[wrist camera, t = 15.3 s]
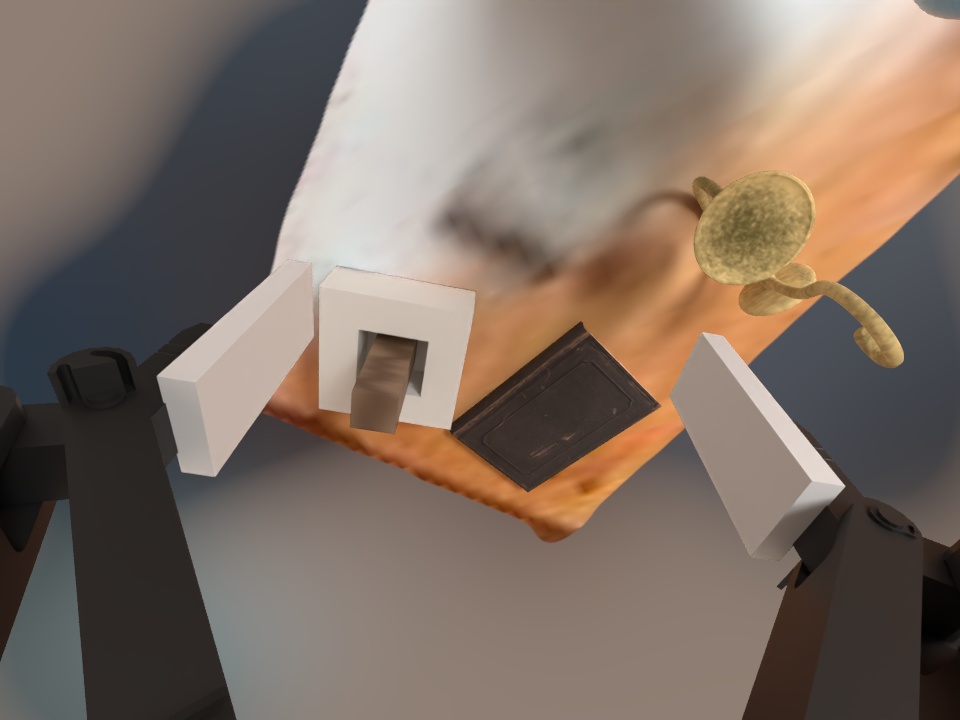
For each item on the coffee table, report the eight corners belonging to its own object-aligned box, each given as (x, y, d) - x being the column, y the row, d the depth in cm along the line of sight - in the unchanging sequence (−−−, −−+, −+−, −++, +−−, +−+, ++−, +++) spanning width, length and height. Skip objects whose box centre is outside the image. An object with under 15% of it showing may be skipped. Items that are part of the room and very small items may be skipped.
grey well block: (475, 291, 53) (473, 314, 48) (454, 400, 61) (450, 429, 56) (336, 265, 52) (319, 286, 47) (333, 380, 60) (318, 408, 55)
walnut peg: (419, 329, 55) (398, 399, 43) (415, 359, 57) (394, 434, 45) (382, 322, 55) (351, 391, 43) (379, 353, 57) (349, 427, 45)
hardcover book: (656, 396, 61) (661, 406, 59) (527, 480, 70) (528, 492, 68) (580, 318, 55) (583, 327, 53) (450, 421, 64) (448, 432, 62)
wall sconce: (785, 237, 49) (1010, 362, 28) (703, 292, 52) (846, 439, 31) (725, 129, 44) (945, 180, 22) (638, 197, 47) (757, 297, 26)
